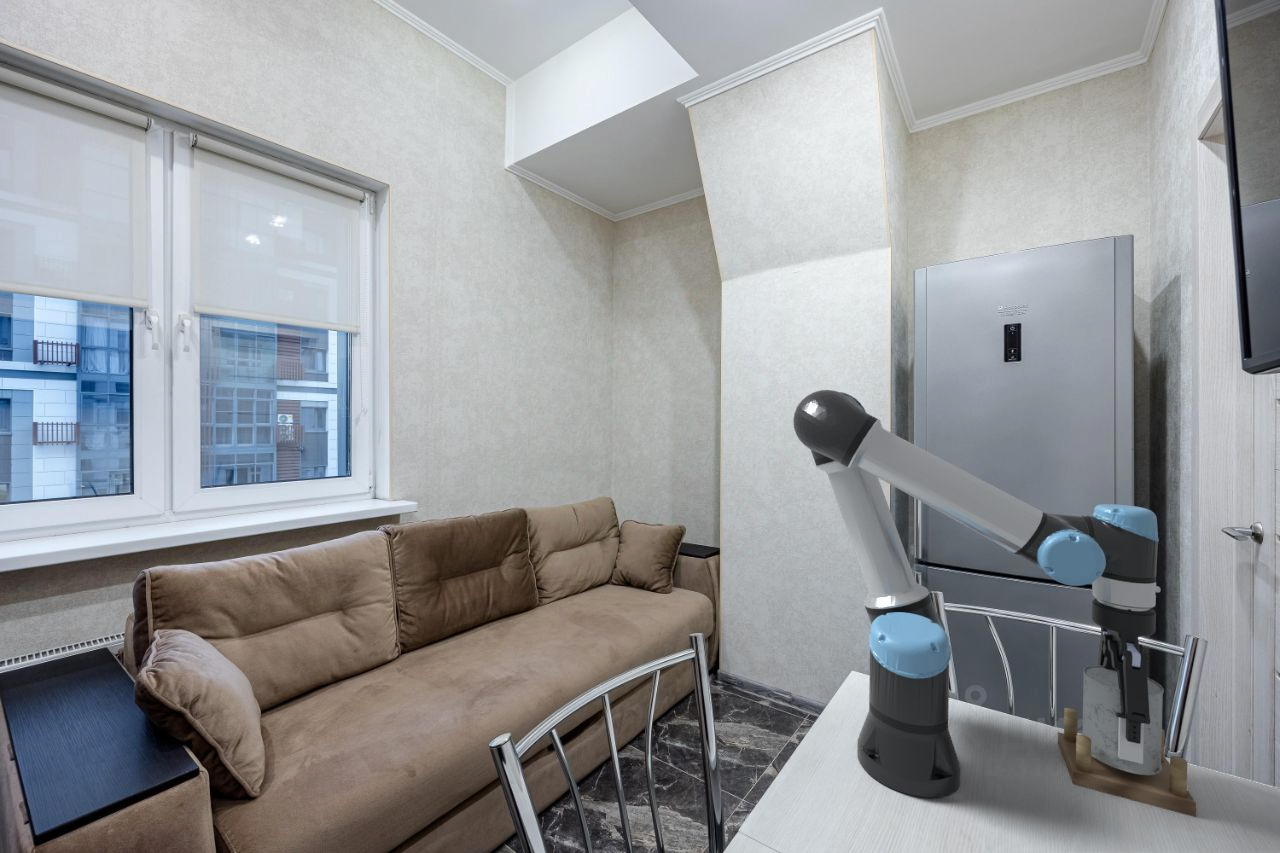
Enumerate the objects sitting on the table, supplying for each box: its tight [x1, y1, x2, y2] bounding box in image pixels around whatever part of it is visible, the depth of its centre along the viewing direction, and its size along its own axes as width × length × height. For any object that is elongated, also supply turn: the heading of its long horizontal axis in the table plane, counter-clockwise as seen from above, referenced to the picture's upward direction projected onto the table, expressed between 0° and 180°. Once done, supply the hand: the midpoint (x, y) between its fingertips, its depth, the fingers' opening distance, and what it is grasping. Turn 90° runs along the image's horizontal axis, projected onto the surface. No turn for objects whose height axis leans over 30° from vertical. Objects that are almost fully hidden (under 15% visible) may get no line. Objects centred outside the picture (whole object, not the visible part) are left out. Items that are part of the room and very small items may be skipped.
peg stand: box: [1057, 707, 1197, 818], centre depth 86 cm, size 14×12×7 cm
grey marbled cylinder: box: [1081, 664, 1165, 775], centre depth 85 cm, size 10×10×12 cm
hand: (1120, 742), depth 86 cm, fingers closed on grey marbled cylinder, 9 cm apart
